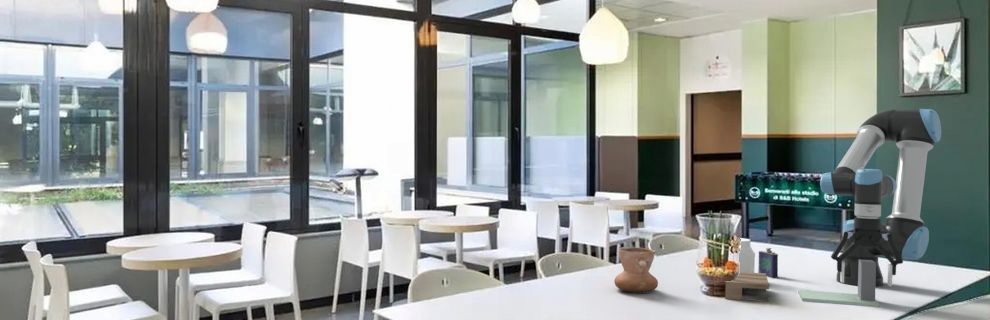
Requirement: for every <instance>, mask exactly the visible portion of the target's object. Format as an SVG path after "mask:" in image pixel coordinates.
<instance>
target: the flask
mask: <svg viewBox="0 0 990 320" xmlns="http://www.w3.org/2000/svg"><path fill="white" fill-rule="evenodd" d="M771 249H772V247H767V248H766V247H765V250H766V251H765V250H758V270H757V273H765V274H766V275H767V277H768V276H769V277H768V278H771V279H779V278H778V276H779V275H778V273H779V272H778V271H779V270H778V269H779V268H778V267H779V266H778V264H779V262H778V259H779V258H778V257H779V254H778V253H776V252H775V251H774V252H773V251H772V250H771Z"/></svg>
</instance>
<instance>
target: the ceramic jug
mask: <svg viewBox="0 0 990 320" xmlns="http://www.w3.org/2000/svg"><path fill="white" fill-rule="evenodd" d="M618 256H619V260H620V263H621V266H622V268H623V271H622V272H619V274H617V275H616V276H615V277H614V281H613V282H614V285H615V287H616V288H618V290H621V291H623V292H625V293H632V294H645V293H650V292H652V291H654V290H656V289H657V288H658V285H659V280H658V279H657V278H656V276H654V275H653V274H652V273H650V269H651V267H652V265H653V261H654V259H655V256H656V250H654V249H650V248H645V247H639V246H638V247H636V246H628V247H626V246H624V247H619V248H618Z"/></svg>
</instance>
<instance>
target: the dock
mask: <svg viewBox="0 0 990 320" xmlns="http://www.w3.org/2000/svg"><path fill="white" fill-rule="evenodd" d="M769 288H770V285H769V280H768V276H767V275H766V274H765V273H758V272H754V273H749V272H740V274H739V276H738V278H737V279H735V280H731V281H725V295H724V296H725V297H724V298H725V299H727V300H740V301H742V300H752V301H760V302H761V301H763V302H768V301H769V296H767V295H757V294H755V295H754V294H743V290H744V289H745V290H746V291H757V292H758V291H760V292H761V291H762V292H766V291H767V290H770V289H769ZM745 290H744V291H745Z"/></svg>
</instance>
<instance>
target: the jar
mask: <svg viewBox="0 0 990 320" xmlns="http://www.w3.org/2000/svg"><path fill="white" fill-rule="evenodd" d="M739 238H740V239H741V250H740V253H739V262H740V272H749V273H755V266H756V265H755V261H756V260H755V259H756V258H755V257H756V252H755V251H754V250H753V249H752V247H751V239H750V238H749V239H748V238H743V237H739Z"/></svg>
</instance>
